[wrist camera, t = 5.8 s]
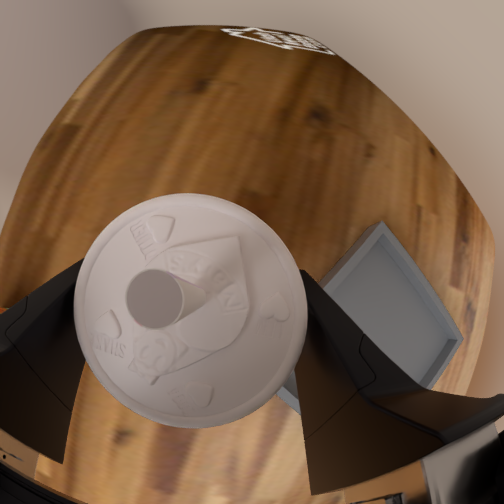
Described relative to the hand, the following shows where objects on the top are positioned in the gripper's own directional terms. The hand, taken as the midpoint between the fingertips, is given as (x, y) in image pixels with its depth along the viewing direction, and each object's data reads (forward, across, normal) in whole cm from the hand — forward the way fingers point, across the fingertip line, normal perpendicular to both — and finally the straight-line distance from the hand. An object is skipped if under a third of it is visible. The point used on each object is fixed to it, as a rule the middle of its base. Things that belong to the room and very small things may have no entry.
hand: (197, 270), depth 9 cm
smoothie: (+4, 0, +6) cm, 7 cm away
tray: (+6, -15, +13) cm, 21 cm away
